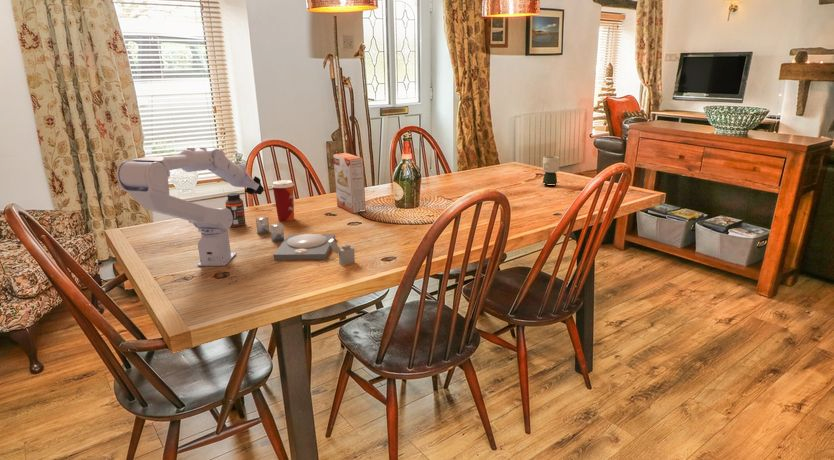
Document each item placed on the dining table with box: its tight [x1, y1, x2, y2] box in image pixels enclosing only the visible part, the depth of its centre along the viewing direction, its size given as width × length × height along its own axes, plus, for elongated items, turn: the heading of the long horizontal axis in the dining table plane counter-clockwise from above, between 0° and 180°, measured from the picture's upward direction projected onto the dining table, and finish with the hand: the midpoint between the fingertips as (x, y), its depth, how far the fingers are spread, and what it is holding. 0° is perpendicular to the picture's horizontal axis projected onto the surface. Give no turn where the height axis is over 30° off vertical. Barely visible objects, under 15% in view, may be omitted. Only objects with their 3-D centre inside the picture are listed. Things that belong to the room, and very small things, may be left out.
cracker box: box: [333, 152, 367, 214], centre depth 199 cm, size 14×6×21 cm, turn 33°
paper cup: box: [271, 179, 295, 223], centre depth 188 cm, size 8×8×14 cm
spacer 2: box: [269, 222, 285, 243], centre depth 167 cm, size 4×4×5 cm
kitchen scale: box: [272, 233, 336, 261], centre depth 159 cm, size 18×15×2 cm
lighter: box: [328, 239, 356, 266], centre depth 145 cm, size 7×2×8 cm, turn 124°
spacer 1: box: [255, 216, 271, 235], centre depth 175 cm, size 4×4×5 cm
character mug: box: [542, 155, 560, 184], centre depth 231 cm, size 11×7×13 cm, turn 133°
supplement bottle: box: [225, 192, 246, 228], centre depth 182 cm, size 6×6×11 cm
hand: (252, 186), depth 166 cm, fingers open, 7 cm apart
